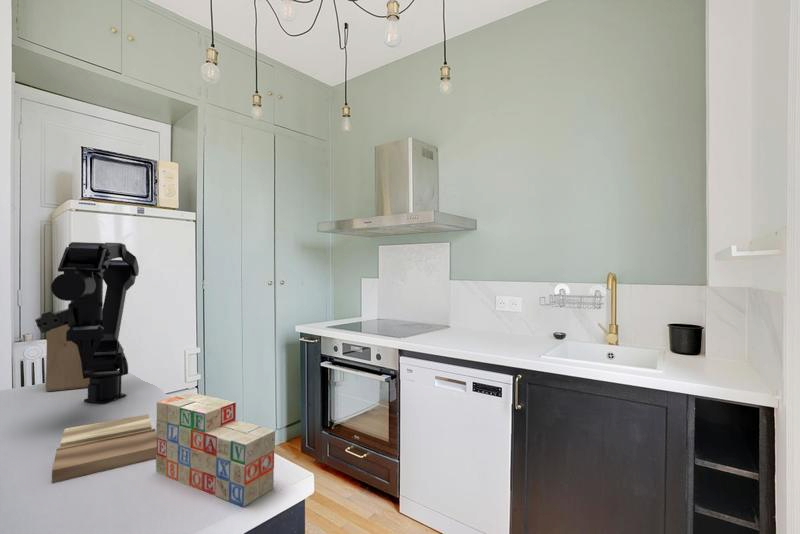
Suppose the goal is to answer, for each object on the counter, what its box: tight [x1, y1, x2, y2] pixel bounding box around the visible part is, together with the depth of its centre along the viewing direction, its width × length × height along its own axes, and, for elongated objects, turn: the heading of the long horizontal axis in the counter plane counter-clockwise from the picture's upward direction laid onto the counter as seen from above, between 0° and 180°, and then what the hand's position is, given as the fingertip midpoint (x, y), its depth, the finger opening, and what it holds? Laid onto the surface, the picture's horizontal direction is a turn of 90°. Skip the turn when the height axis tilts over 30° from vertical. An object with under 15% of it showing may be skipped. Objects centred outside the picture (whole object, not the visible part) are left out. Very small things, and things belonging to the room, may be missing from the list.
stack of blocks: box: [155, 391, 276, 508], centre depth 65 cm, size 21×6×12 cm, turn 63°
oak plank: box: [60, 413, 152, 447], centre depth 79 cm, size 3×14×8 cm
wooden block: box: [45, 324, 90, 392], centre depth 114 cm, size 10×10×20 cm
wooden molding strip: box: [51, 427, 157, 484], centre depth 72 cm, size 10×15×2 cm, turn 128°
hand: (85, 366), depth 90 cm, fingers closed
